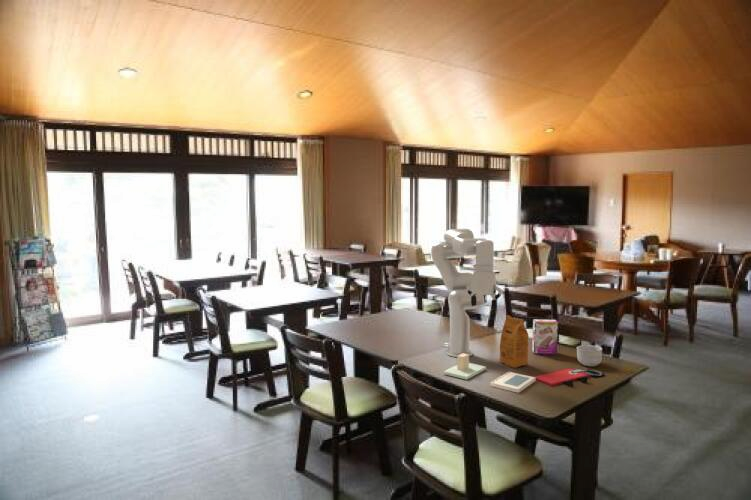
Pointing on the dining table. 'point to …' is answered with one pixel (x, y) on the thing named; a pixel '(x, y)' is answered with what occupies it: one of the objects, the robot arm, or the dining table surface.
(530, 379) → the ticket board
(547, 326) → the candy bar box
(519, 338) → the coffee package
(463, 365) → the green board with block
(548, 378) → the red board with handle
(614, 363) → the dining table surface
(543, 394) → the dining table surface
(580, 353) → the teacup
